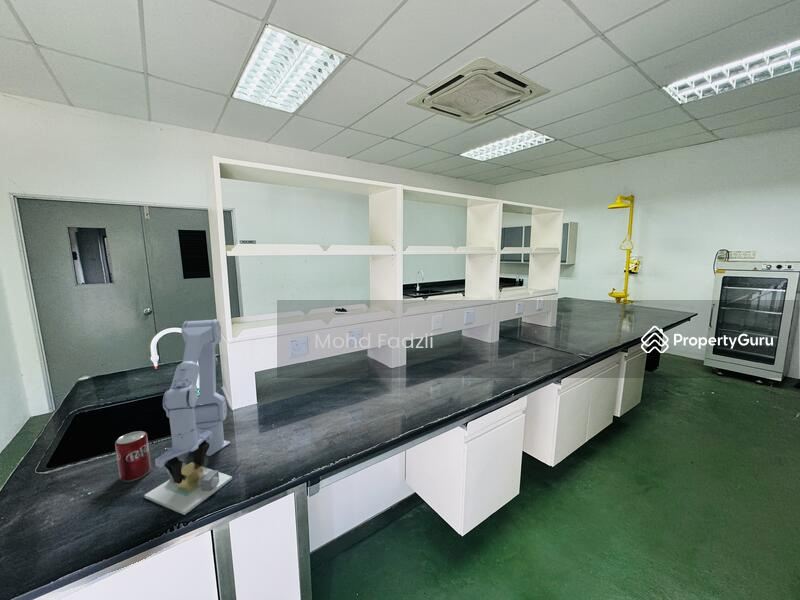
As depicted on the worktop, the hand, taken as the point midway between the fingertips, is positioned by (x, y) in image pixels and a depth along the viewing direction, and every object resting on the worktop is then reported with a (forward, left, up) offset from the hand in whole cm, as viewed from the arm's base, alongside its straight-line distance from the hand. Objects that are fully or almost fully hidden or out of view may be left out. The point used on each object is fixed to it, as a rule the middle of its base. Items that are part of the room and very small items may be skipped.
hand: (188, 475), depth 89 cm
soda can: (-21, -2, -4) cm, 21 cm away
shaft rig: (0, 0, -4) cm, 4 cm away
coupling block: (0, 0, -3) cm, 3 cm away
